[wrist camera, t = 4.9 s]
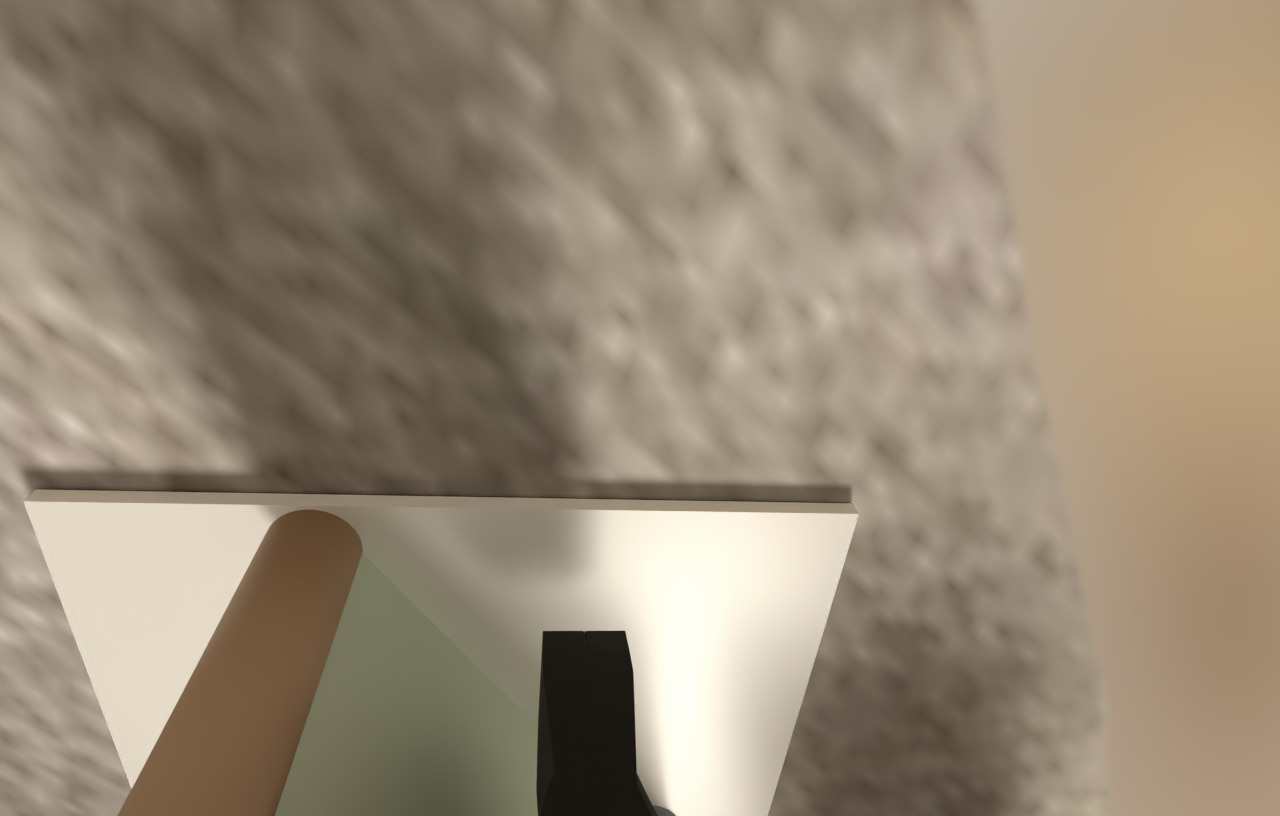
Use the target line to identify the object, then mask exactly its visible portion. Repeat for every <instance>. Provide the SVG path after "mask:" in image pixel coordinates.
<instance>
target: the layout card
mask: <svg viewBox="0 0 1280 816" xmlns="http://www.w3.org/2000/svg"><path fill="white" fill-rule="evenodd" d="M23 502H24V504H25V507H26V510H27V512H28V515H29V517H30V520H31V523H32V525H33V528H34V531H35V533H36V536H37V539H38V541H39V544H40V547H41V549H42V552H43V555H44V557H45V560H46V563H47V565H48V568H49V571H50V573H51V576H52V579H53V581H54V584H55V587H56V589H57V592H58V595H59V597H60V600H61V603H62V605H63V608H64V611H65V613H66V616H67V619H68V621H69V624H70V627H71V629H72V632H73V635H74V637H75V640H76V643H77V645H78V648H79V651H80V653H81V656H82V659H83V661H84V664H85V667H86V669H87V672H88V675H89V677H90V680H91V682H92V685H93V688H94V690H95V693H96V696H97V698H98V701H99V704H100V706H101V709H102V712H103V714H104V717H105V720H106V722H107V725H108V728H109V730H110V733H111V736H112V738H113V741H114V744H115V746H116V749H117V752H118V754H119V757H120V760H121V762H122V765H123V768H124V770H125V773H126V776H127V778H128V781H129V784H130V786H131V789H132V788H133V786H134V784H135V782H136V780H137V778H138V776H139V774H140V772H141V770H142V768H143V767H144V765H145V763H146V761H147V759H148V757H149V755H150V753H151V751H152V749H153V748H154V746H155V744H156V742H157V740H158V738H159V736H160V734H161V732H162V730H163V728H164V727H165V725H166V723H167V721H168V719H169V717H170V715H171V713H172V711H173V709H174V708H175V706H176V704H177V702H178V700H179V698H180V696H181V694H182V692H183V690H184V688H185V687H186V685H187V683H188V681H189V679H190V677H191V675H192V673H193V671H194V669H195V668H196V666H197V664H198V662H199V660H200V658H201V656H202V654H203V652H204V650H205V648H206V647H207V645H208V643H209V641H210V639H211V637H212V635H213V633H214V631H215V629H216V628H217V626H218V624H219V622H220V620H221V618H222V616H223V614H224V612H225V610H226V609H227V607H228V605H229V603H230V601H231V599H232V597H233V595H234V593H235V591H236V589H237V588H238V586H239V584H240V582H241V580H242V578H243V576H244V574H245V572H246V570H247V569H248V567H249V565H250V563H251V561H252V559H253V557H254V555H255V553H256V551H257V549H258V548H259V546H260V544H261V542H262V540H263V538H264V536H265V534H266V532H267V530H268V529H269V527H270V525H271V524H272V523H273V522H274V521H275V520H276V519H278V518H279V517H281V516H282V515H285V514H287V513H290V512H293V511H297V510H319V511H324V512H328V513H331V514H333V515H336V516H338V517H340V518H342V519H343V520H345V521H346V522H347V523H349V524H350V525H351V526H352V527H353V528H354V529H355V530H356V532H357V533H358V535H359V537H360V539H361V542H362V548H363V551H362V553H363V554H364V555H365V556H366V557H367V558H368V559H369V560H370V561H371V562H372V563H373V564H374V565H375V566H376V567H377V568H378V569H379V570H380V571H381V572H382V573H383V574H384V575H385V576H386V577H387V578H388V579H389V580H390V581H391V582H392V583H393V584H394V585H395V586H396V587H397V588H398V589H399V590H400V591H401V592H402V593H403V594H404V595H405V596H406V597H407V598H408V599H409V600H410V601H411V602H412V603H413V604H414V605H415V606H416V607H417V608H418V609H419V610H420V611H421V612H422V613H423V614H424V615H425V616H426V617H427V618H428V619H429V620H430V621H431V622H432V623H433V624H434V625H435V626H436V627H438V628H439V629H440V630H441V631H442V632H443V633H444V634H445V635H446V636H447V637H448V638H449V639H450V640H451V641H452V642H453V643H454V644H455V645H456V646H457V647H458V648H459V649H460V650H461V651H462V652H463V653H464V654H465V655H466V656H467V657H468V658H469V659H470V660H471V661H472V662H473V663H474V664H475V665H476V666H477V667H478V668H479V669H480V670H481V671H482V672H483V673H484V674H485V675H486V676H487V677H488V678H489V679H490V680H491V681H492V682H493V683H494V684H495V685H496V686H497V687H498V688H499V689H500V690H501V691H502V692H503V693H504V694H505V695H506V696H507V697H508V698H509V699H510V700H511V701H512V702H513V703H514V704H515V705H516V706H517V707H518V708H519V709H520V710H521V711H522V712H523V713H524V714H525V715H526V716H528V717H529V718H530V719H531V720H532V721H533V722H534V723H535V724H536V725H537V726H538V712H539V693H540V674H541V655H542V636H543V631H584V632H585V631H625V632H626V637H627V641H628V646H629V650H630V656H631V661H632V667H633V675H634V703H635V735H636V767H637V774H638V777H639V779H640V781H641V783H642V785H643V787H644V789H645V791H646V793H647V795H648V797H649V799H650V801H651V803H652V805H653V807H654V810H655V812H656V814H657V815H658V816H768V813H769V810H770V806H771V803H772V800H773V797H774V793H775V790H776V787H777V783H778V780H779V777H780V773H781V770H782V767H783V764H784V760H785V757H786V754H787V750H788V747H789V744H790V740H791V737H792V734H793V731H794V727H795V724H796V721H797V717H798V714H799V711H800V707H801V704H802V701H803V698H804V694H805V691H806V688H807V684H808V681H809V678H810V674H811V671H812V668H813V665H814V661H815V658H816V655H817V651H818V648H819V645H820V641H821V638H822V635H823V632H824V628H825V625H826V622H827V618H828V615H829V612H830V608H831V605H832V602H833V598H834V595H835V592H836V589H837V585H838V582H839V579H840V575H841V572H842V569H843V565H844V562H845V559H846V556H847V552H848V549H849V546H850V542H851V539H852V536H853V532H854V529H855V526H856V523H857V519H858V516H859V513H858V511H857V510H856V508H855V506H854V505H853V503H796V502H738V501H679V500H621V499H563V498H504V497H446V496H388V495H329V494H271V493H212V492H154V491H96V490H37V489H36V490H35V491H34V492H33V493H32V494H31V495H30V496H29V497H27V498H26V499H25V500H24V501H23Z"/></svg>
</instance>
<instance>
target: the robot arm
mask: <svg viewBox="0 0 1280 816" xmlns="http://www.w3.org/2000/svg"><path fill="white" fill-rule="evenodd" d="M536 792H537V808H538V816H657V814H656V812H655V810H654V807H653V805H652V803H651V801H650V799H649V797H648V795H647V793H646V791H645V789H644V787H643V785H642V783H641V781H640V779H639V777H638V774H637V767H636V735H635V703H634V675H633V667H632V661H631V656H630V650H629V646H628V641H627V637H626V632H625V631H585V632H584V631H543V636H542V655H541V674H540V693H539V712H538V742H537V782H536Z"/></svg>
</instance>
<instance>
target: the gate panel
mask: <svg viewBox="0 0 1280 816" xmlns="http://www.w3.org/2000/svg"><path fill="white" fill-rule="evenodd" d="M362 551H363V548H362V542H361V539H360V537H359V535H358V533H357V532H356V530H355V529H354V528H353V527H352V526H351V525H350V524H349V523H347V522H346V521H345V520H343V519H342V518H340V517H338V516H336V515H333V514H331V513H328V512H324V511H319V510H297V511H293V512H290V513H287V514H285V515H282V516H281V517H279V518H278V519H276V520H275V521H274V522H273V523H272V524H271V525H270V527H269V529H268V530H267V532H266V534H265V536H264V538H263V540H262V542H261V544H260V546H259V548H258V549H257V551H256V553H255V555H254V557H253V559H252V561H251V563H250V565H249V567H248V569H247V570H246V572H245V574H244V576H243V578H242V580H241V582H240V584H239V586H238V588H237V589H236V591H235V593H234V595H233V597H232V599H231V601H230V603H229V605H228V607H227V609H226V610H225V612H224V614H223V616H222V618H221V620H220V622H219V624H218V626H217V628H216V629H215V631H214V633H213V635H212V637H211V639H210V641H209V643H208V645H207V647H206V648H205V650H204V652H203V654H202V656H201V658H200V660H199V662H198V664H197V666H196V668H195V669H194V671H193V673H192V675H191V677H190V679H189V681H188V683H187V685H186V687H185V688H184V690H183V692H182V694H181V696H180V698H179V700H178V702H177V704H176V706H175V708H174V709H173V711H172V713H171V715H170V717H169V719H168V721H167V723H166V725H165V727H164V728H163V730H162V732H161V734H160V736H159V738H158V740H157V742H156V744H155V746H154V748H153V749H152V751H151V753H150V755H149V757H148V759H147V761H146V763H145V765H144V767H143V768H142V770H141V772H140V774H139V776H138V778H137V780H136V782H135V784H134V786H133V788H132V789H131V791H130V793H129V795H128V797H127V799H126V801H125V803H124V805H123V807H122V808H121V810H120V812H119V814H118V816H538V808H537V792H536V782H537V742H538V726H537V725H536V724H535V723H534V722H533V721H532V720H531V719H530V718H529V717H528V716H526V715H525V714H524V713H523V712H522V711H521V710H520V709H519V708H518V707H517V706H516V705H515V704H514V703H513V702H512V701H511V700H510V699H509V698H508V697H507V696H506V695H505V694H504V693H503V692H502V691H501V690H500V689H499V688H498V687H497V686H496V685H495V684H494V683H493V682H492V681H491V680H490V679H489V678H488V677H487V676H486V675H485V674H484V673H483V672H482V671H481V670H480V669H479V668H478V667H477V666H476V665H475V664H474V663H473V662H472V661H471V660H470V659H469V658H468V657H467V656H466V655H465V654H464V653H463V652H462V651H461V650H460V649H459V648H458V647H457V646H456V645H455V644H454V643H453V642H452V641H451V640H450V639H449V638H448V637H447V636H446V635H445V634H444V633H443V632H442V631H441V630H440V629H439V628H438V627H436V626H435V625H434V624H433V623H432V622H431V621H430V620H429V619H428V618H427V617H426V616H425V615H424V614H423V613H422V612H421V611H420V610H419V609H418V608H417V607H416V606H415V605H414V604H413V603H412V602H411V601H410V600H409V599H408V598H407V597H406V596H405V595H404V594H403V593H402V592H401V591H400V590H399V589H398V588H397V587H396V586H395V585H394V584H393V583H392V582H391V581H390V580H389V579H388V578H387V577H386V576H385V575H384V574H383V573H382V572H381V571H380V570H379V569H378V568H377V567H376V566H375V565H374V564H373V563H372V562H371V561H370V560H369V559H368V558H367V557H366V556H365V555H364V554H363V553H362Z"/></svg>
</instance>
